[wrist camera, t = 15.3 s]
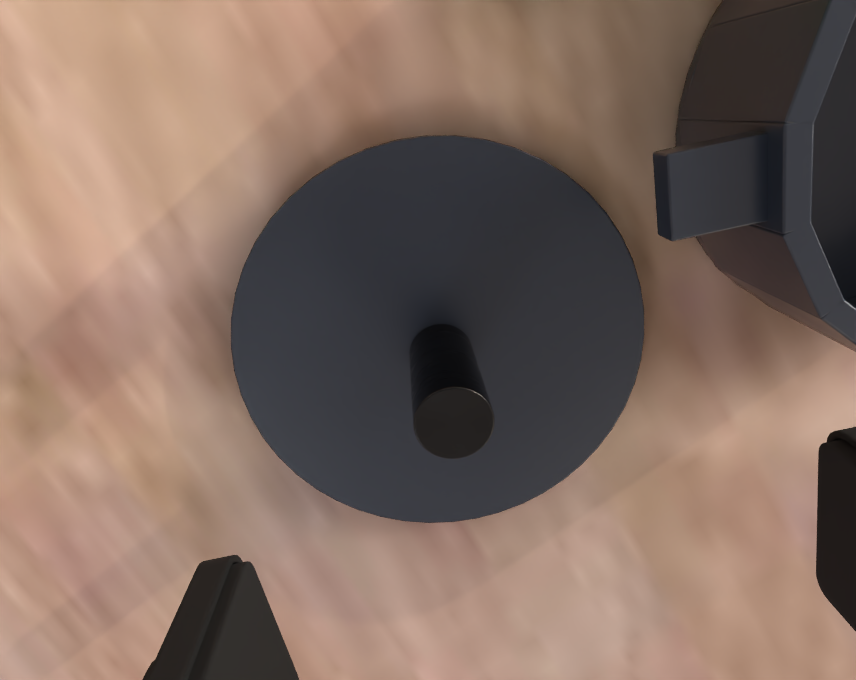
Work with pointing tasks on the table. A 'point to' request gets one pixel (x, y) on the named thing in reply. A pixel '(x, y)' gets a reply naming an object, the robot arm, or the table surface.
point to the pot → (772, 157)
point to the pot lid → (437, 329)
